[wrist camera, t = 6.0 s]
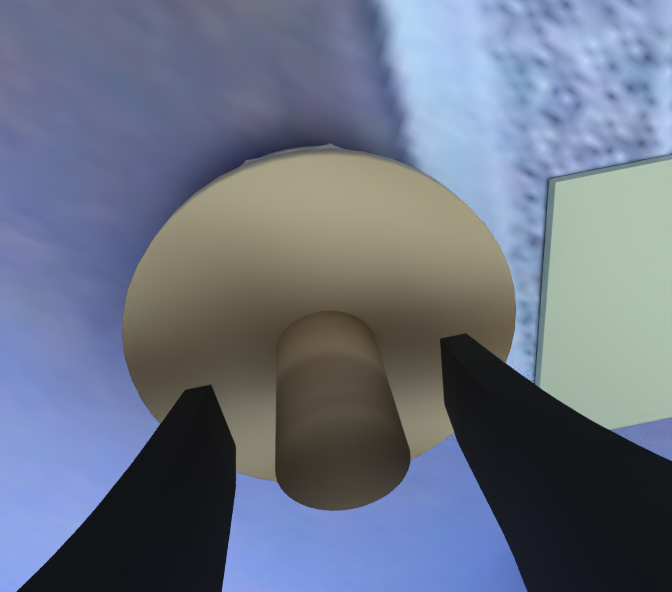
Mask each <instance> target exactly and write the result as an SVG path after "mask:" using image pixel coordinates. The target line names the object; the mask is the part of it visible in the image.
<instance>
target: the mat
mask: <svg viewBox="0 0 672 592" xmlns="http://www.w3.org/2000/svg"><path fill="white" fill-rule="evenodd" d="M535 385H537V386H538V387H540V388H541V389H542V390H544V391H545V392H547V393H548V394H550V395H551V396H553V397H554V398H556V399H557V400H559V401H561V402H562V403H564V404H566V405H567V406H569V407H570V408H572V409H574V410H575V411H577V412H578V413H580V414H582V415H583V416H585V417H587V418H589V419H590V420H592V421H594V422H596V423H597V424H599V425H601V426H603V427H605V428H607V429H608V430H611V429H616V428H621V427H626V426H631V425H635V424H640V423H645V422H650V421H655V420H660V419H665V418H670V417H672V155H668V156H662V157H657V158H652V159H647V160H642V161H637V162H632V163H627V164H622V165H617V166H612V167H607V168H602V169H597V170H592V171H587V172H582V173H577V174H572V175H567V176H562V177H557V178H552V179H549V190H548V204H547V218H546V233H545V247H544V261H543V276H542V290H541V305H540V319H539V333H538V348H537V362H536V376H535Z"/></svg>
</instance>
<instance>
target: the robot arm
mask: <svg viewBox="0 0 672 592" xmlns="http://www.w3.org/2000/svg"><path fill="white" fill-rule="evenodd" d="M440 347H441V363H442V379H443V394H444V405H445V408H446V411H447V414H448V416H449V419H450V422H451V425H452V428H453V430H454V433H455V436H456V438H457V441H458V444H459V446H460V448H461V450H462V452H463V454H464V456H465V458H466V460H467V462H468V464H469V466H470V468H471V470H472V472H473V474H474V476H475V478H476V480H477V482H478V484H479V486H480V488H481V490H482V492H483V494H484V496H485V498H486V500H487V502H488V504H489V506H490V508H491V510H492V512H493V514H494V516H495V518H496V520H497V522H498V524H499V526H500V528H501V530H502V532H503V534H504V536H505V538H506V540H507V542H508V545H509V547H510V549H511V551H512V553H513V556H514V558H515V561H516V563H517V566H518V569H519V571H520V574H521V576H522V579H523V581H524V584H525V586H526V589H527V591H528V592H672V461H670V460H668V459H666V458H664V457H662V456H659V455H657V454H655V453H653V452H651V451H649V450H647V449H645V448H643V447H641V446H639V445H637V444H635V443H633V442H631V441H629V440H627V439H625V438H623V437H622V436H620V435H618V434H616V433H614V432H612V431H610V430H608V429H607V428H605V427H603V426H601V425H599V424H597V423H596V422H594V421H592V420H590V419H589V418H587V417H585V416H583V415H582V414H580V413H578V412H577V411H575V410H574V409H572V408H570V407H569V406H567V405H566V404H564V403H562V402H561V401H559V400H557V399H556V398H554V397H553V396H551V395H550V394H548V393H547V392H545V391H544V390H542V389H541V388H540V387H538V386H537V385H535V384H534V383H532V382H531V381H530V380H528V379H527V378H525V377H524V376H522V375H521V374H520V373H518V372H517V371H515V370H514V369H513V368H511V367H510V366H509V365H507V364H506V363H505V362H503V361H502V360H501V359H499V358H498V357H497V356H495V355H494V354H493V353H491V352H490V351H489V350H488V349H486V348H485V347H484V346H482V345H481V344H480V343H478V342H477V341H476V340H475V339H473V338H472V337H471V336H469V335H468V334H466V333H465V334H460V335H455V336H450V337H445V338H440ZM235 489H236V445H235V442H234V440H233V437H232V435H231V432H230V430H229V427H228V425H227V422H226V420H225V417H224V415H223V412H222V410H221V407H220V405H219V402H218V400H217V397H216V395H215V392H214V390H213V387H212V385H206V386H201V387H196V388H191V389H186V390H185V391H184V392H183V393H182V395H181V396H180V397H179V399H178V400H177V401H176V403H175V404H174V406H173V407H172V409H171V410H170V411H169V413H168V414H167V416H166V417H165V418H164V420H163V421H162V423H161V424H160V425H159V427H158V428H157V430H156V431H155V432H154V434H153V435H152V437H151V438H150V439H149V441H148V442H147V443H146V445H145V446H144V448H143V449H142V450H141V452H140V453H139V454H138V456H137V457H136V458H135V460H134V461H133V462H132V464H131V465H130V466H129V468H128V469H127V470H126V471H125V473H124V474H123V475H122V476H121V478H120V479H119V480H118V481H117V483H116V484H115V485H114V486H113V488H112V489H111V490H110V491H109V493H108V494H107V495H106V496H105V498H104V499H103V500H102V501H101V503H100V504H99V505H98V506H97V507H96V509H95V510H94V511H93V512H92V513H91V514H90V516H89V517H88V518H87V519H86V520H85V521H84V522H83V524H82V525H81V526H80V527H79V528H78V529H77V530H76V531H75V532H74V534H73V535H72V536H71V537H70V538H69V539H68V540H67V541H66V542H65V543H64V544H63V545H62V546H61V548H60V549H59V550H58V551H57V552H56V553H55V554H54V555H53V556H52V557H51V558H50V559H49V560H48V561H47V562H46V563H45V564H44V565H43V566H42V567H41V568H40V569H39V570H38V571H37V572H36V573H35V574H34V575H33V576H32V577H31V578H30V579H29V580H28V581H27V582H26V583H25V584H24V585H23V586H22V587H21V588H20V589H19V590H18V591H17V592H222V585H223V578H224V571H225V564H226V556H227V549H228V542H229V535H230V528H231V520H232V513H233V505H234V497H235Z"/></svg>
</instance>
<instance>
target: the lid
mask: <svg viewBox="0 0 672 592" xmlns="http://www.w3.org/2000/svg"><path fill="white" fill-rule="evenodd" d="M515 316H516V303H515V293H514V285H513V282H512V278H511V274H510V270H509V267H508V264H507V262H506V259H505V257H504V255H503V253H502V251H501V248H500V246H499V244H498V243H497V241H496V240H495V238H494V237H493V235H492V234H491V232H490V231H489V229H488V228H487V226H486V225H485V224H484V223H483V222H482V220H481V219H480V218H479V217H478V216H477V215H476V214H475V213H474V212H473V211H472V210H471V209H470V208H469V206H467V205H466V204H465V203H464V202H463V201H462V200H461V199H460V198H459V197H457V196H456V195H455V194H454V193H452V192H451V191H450V190H449V189H447V188H446V187H445V186H444V185H442V184H441V183H440V182H438V181H437V180H435V179H434V178H432V177H430V176H428V175H427V174H425V173H423V172H421V171H420V170H418V169H416V168H414V167H412V166H409V165H407V164H404V163H402V162H399V161H396V160H394V159H391V158H389V157H384V156H380V155H376V154H372V153H367V152H363V151H355V150H345V149H334V148H328V149H304V150H297V151H292V152H286V153H281V154H275V155H271V156H268V157H265V158H262V159H259V160H256V161H253V162H249V163H246V164H244V165H242V166H240V167H238V168H236V169H233V170H231V171H229V172H227V173H225V174H223V175H221V176H219V177H217V178H216V179H214V180H213V181H211V182H210V183H208V184H207V185H206V186H204V187H203V188H201V189H200V190H198V191H197V192H195V193H194V194H193V195H192V196H191V197H190V198H188V199H187V200H186V201H185V202H184V203H183V204H182V205H181V206H180V207H179V208H177V209H176V210H175V211H174V213H173V214H172V215H171V216H170V217H169V219H168V220H167V221H166V222H165V224H164V225H163V226H162V227H161V228H160V230H159V231H158V233H157V234H156V236H155V237H154V239H153V240H152V242H151V244H150V245H149V247H148V249H147V250H146V252H145V254H144V255H143V257H142V259H141V261H140V262H139V264H138V266H137V268H136V270H135V273H134V275H133V278H132V281H131V283H130V286H129V288H128V292H127V297H126V301H125V306H124V311H123V330H122V338H123V346H124V353H125V359H126V363H127V366H128V369H129V372H130V376H131V379H132V381H133V383H134V385H135V387H136V389H137V391H138V393H139V395H140V397H141V399H142V401H143V402H144V404H145V405H146V406H147V408H148V409H149V411H150V412H151V414H152V415H153V416H154V417H155V419H156V420H157V421H158V422H159V423H160V424H161V423H162V421H163V420H164V418H165V417H166V416H167V414H168V413H169V411H170V410H171V409H172V407H173V406H174V404H175V403H176V401H177V400H178V399H179V397H180V396H181V395H182V393H183V392H184V391H185V390H186V389H191V388H196V387H201V386H206V385H212V387H213V390H214V392H215V395H216V397H217V400H218V402H219V405H220V407H221V410H222V412H223V415H224V417H225V420H226V422H227V425H228V427H229V430H230V432H231V435H232V437H233V440H234V442H235V445H236V472H237V473H241V474H244V475H248V476H252V477H255V478H259V479H265V480H271V481H277V482H278V484H279V486H280V487H281V489H282V490H283V491H284V492H285V493H286V494H287V495H288V496H289V497H290V498H292V499H293V500H295V501H296V502H298V503H300V504H302V505H305V506H308V507H311V508H315V509H321V510H348V509H353V508H358V507H362V506H365V505H368V504H370V503H373V502H375V501H377V500H379V499H381V498H383V497H384V496H386V495H387V494H389V493H390V492H391V491H393V490H394V489H395V488H396V487H397V486H398V485H399V484H400V482H401V481H402V480H403V478H404V477H405V475H406V473H407V471H408V469H409V465H410V460H411V459H413V458H416V457H418V456H420V455H421V454H423V453H425V452H426V451H428V450H430V449H431V448H433V447H435V446H436V445H438V444H439V443H441V442H442V441H443V440H445V439H446V438H447V437H449V436H450V435H451V434H453V433H454V430H453V428H452V425H451V422H450V419H449V416H448V414H447V411H446V408H445V405H444V394H443V379H442V363H441V347H440V338H445V337H450V336H455V335H460V334H465V333H466V334H468V335H469V336H471V337H472V338H473V339H475V340H476V341H477V342H478V343H480V344H481V345H482V346H484V347H485V348H486V349H488V350H489V351H490V352H491V353H493V354H494V355H495V356H497V357H498V358H499V359H501V360H502V361H503V362H505V363H506V360H507V357H508V355H509V352H510V349H511V344H512V339H513V335H514V330H515Z"/></svg>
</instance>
